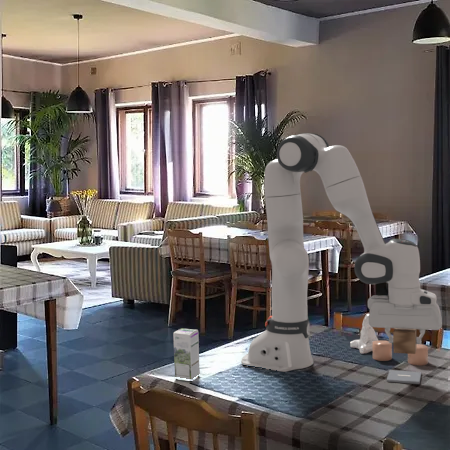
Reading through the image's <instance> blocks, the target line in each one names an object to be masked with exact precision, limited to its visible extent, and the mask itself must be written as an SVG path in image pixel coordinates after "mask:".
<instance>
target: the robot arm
mask: <svg viewBox="0 0 450 450" xmlns="http://www.w3.org/2000/svg"><path fill="white" fill-rule="evenodd" d="M264 171H265V172H264V182H263V183H264V187H263V188H264V200H265V212H266V219H267V220H266V221H267V222H266V224H267V238H268V250H269V259H270V262H271V315H269V317H267V320H266V321H265V323H264V324H265V325H264V326H265V328H266V329H265V330H264V331H263V332H261V333H260V334H258V336H256V337H255V338H254V339H253V340H251V342H250V343H249V347H248V352H247V353H246V354H244V356H243V357H242V358H241V361H240V362H241V363H242V364H244V365H250V366H255V367H262V368H266V369H265V370H269V369H271V370H270V371H276V370H277V372H284V373H285V372H290V371H293V370H300V369H301V370H302V369H305V368H308V367H310V366H313V364H314V359H313V357H312V352H311V345H310V339H309V337H310V320H309V317H308V288H309V287H308V286H309V271H310V270H309V264H310V263H309V262H310V261H309V259H310V258H309V255H308V251H307V250H306V248H305V246H304V245H305V243H304V214H303V204H302V203H303V201H302V193H301V192H302V191H301V177H302V175H303V174H304V173H306V174H307V173H309V172H312V171H314V172H316V173H317V175H319V177H320V180H321V181H322V185H323V188H324V191H325V194H326V196H327V198H328V200H329V202H330V203H331V206H332V208H334V210H335V211H337V212H339V213H341V214H342V215H344V216H345V217H347V218H348V219H350V221H351V222H352V223H353V225H354V226H355V230H356V232H357V234H358V236H359V240H360V242H361V243H362V247H363V253H361V254H360V255H359V256H358V257H357V259H356V260H355V263H354V274H355V276H356V277H357V278H358V280H360V282H362V283H364V284H367V285H377V284H383V283H387V284H388V285H387V286H388V294H386V295H379V294H378V295H377V294H375V295H374V294H373V295H372V296H370V297H369V298H368V299H367V308H368V309H369V313H368V314H369V325H370V326H371V327H372V328H380V329H381V328H382V329H384V332H385V334H386V337H388V341H389V343H392V344H393V334H391V329H395V328H402V329H416V330H419V333H420V334H419V336H416V344H421V345H422V339H423V337H424V335H425V334H426V330H428V331H429V330H431V331H439V330H441V328H442V325H443V324H442V313H441V308H440V306H439V304H438V303H437V301H438V300H437V298H438V297H437V295H436V294H435V293H434V292H431V291H429V290H425V289H422V288H421V282H420V279H419V278H420V272H421V260H420V259H421V257H420V251H419V248H418V245H417V243H415V241H411V240H409V239H404V238H393V239H391V240H389V241H388V242H386V241H385V239H384V236H383V234H382V232H381V230H380V227H379V225H378V223H377V221H376V217H375V215H374V213H373V210H372V209H371V205H370V201H369V198H368V195H367V190H366V187H365V184H364V181H363V177H362V176H361V173H360V170H359V168H358V165H357V164H356V161H355V159H354V157H353V156H352V154H351V152H350V151H349V149H348V148H347V147H346V146H344V145H339V144H335V145H330V144H329V142H328V140H327V139H326V138H325V137H324V136H322V135H320V134H317V133H299V134H294V135H289V136H287V137H286V138H284V139H283V140H281V142H279V145H278V147H277V149H276V158H275V159H274V160H271V161H269V162H268V163H267V165H266V166H265V170H264ZM242 364H241V365H242ZM255 367H254V368H255ZM262 368H261V369H262Z"/></svg>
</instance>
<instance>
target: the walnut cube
mask: <svg viewBox="0 0 450 450" xmlns="http://www.w3.org/2000/svg"><path fill="white" fill-rule="evenodd" d="M392 336H393V343H392V350H393V354H405V355H406V354H407V355H408V354H415V353H416V348H417V345H416V337H417V329H402V328H393V331H392Z"/></svg>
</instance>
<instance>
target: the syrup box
mask: <svg viewBox="0 0 450 450" xmlns="http://www.w3.org/2000/svg"><path fill="white" fill-rule="evenodd" d="M172 336H173V339H172V340H173V357H174V358H173V359H174V360H173V361H174V364H173V365H174V378H175V377H180V378H186V379H193V378H194V377H196V376H197V375H199V374H200V375H201V372H200V371H201V370H200V369H201V368H200V353H199V352H200V347H199V346H200V345H199V343H200V341H199V340H200V339H199V338H200V337H199V330H198V329H190V328H178V330H175V331H174V332H173V335H172Z"/></svg>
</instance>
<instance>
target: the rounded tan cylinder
mask: <svg viewBox="0 0 450 450" xmlns="http://www.w3.org/2000/svg"><path fill="white" fill-rule="evenodd" d="M372 349H373V351H372V359H373V360H375V361H378V362H379V361H380V362H388V361H391V360H392V359H393V343H389V340H381V339H380V340H379V339H378V340H377V341H373V342H372Z"/></svg>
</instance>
